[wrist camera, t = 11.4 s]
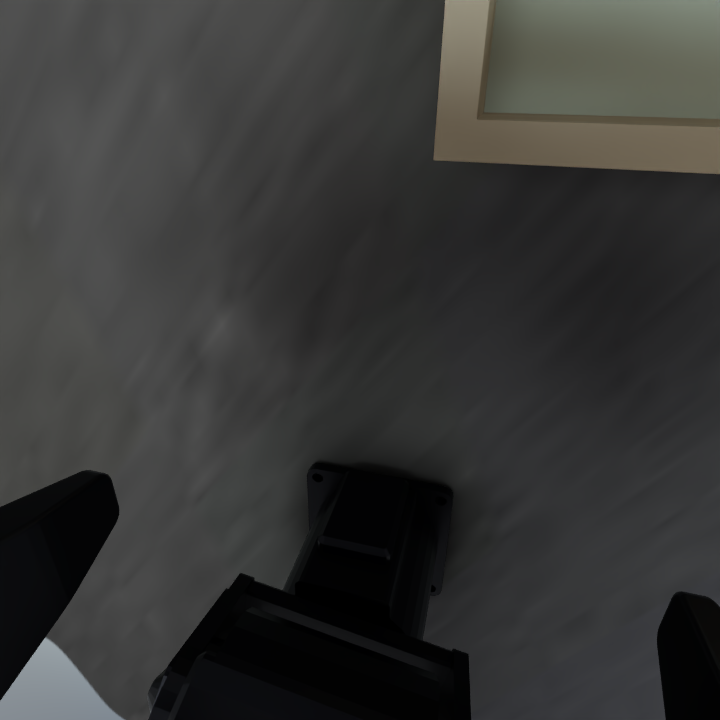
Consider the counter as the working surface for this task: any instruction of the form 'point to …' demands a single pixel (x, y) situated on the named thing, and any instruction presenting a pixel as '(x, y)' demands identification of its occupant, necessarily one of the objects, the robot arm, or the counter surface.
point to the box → (581, 84)
